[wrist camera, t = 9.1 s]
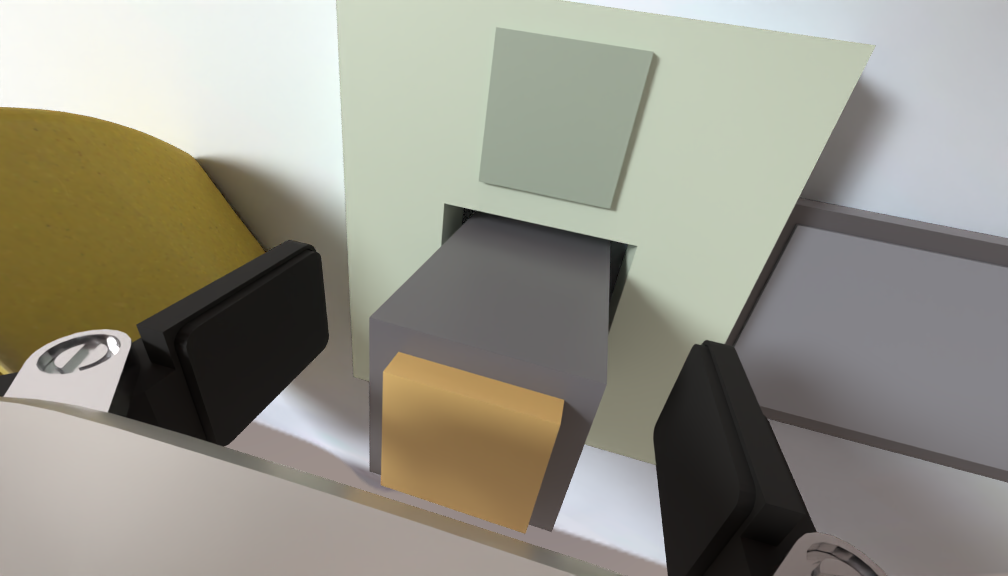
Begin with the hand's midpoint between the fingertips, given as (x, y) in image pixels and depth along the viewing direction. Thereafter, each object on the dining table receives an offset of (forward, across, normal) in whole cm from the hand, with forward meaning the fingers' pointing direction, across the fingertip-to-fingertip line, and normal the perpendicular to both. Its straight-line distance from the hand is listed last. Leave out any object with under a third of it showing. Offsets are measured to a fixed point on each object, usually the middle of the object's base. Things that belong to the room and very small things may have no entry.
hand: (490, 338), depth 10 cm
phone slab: (+5, -12, 0) cm, 13 cm away
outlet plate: (+5, 0, -1) cm, 5 cm away
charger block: (+5, 0, +1) cm, 5 cm away
